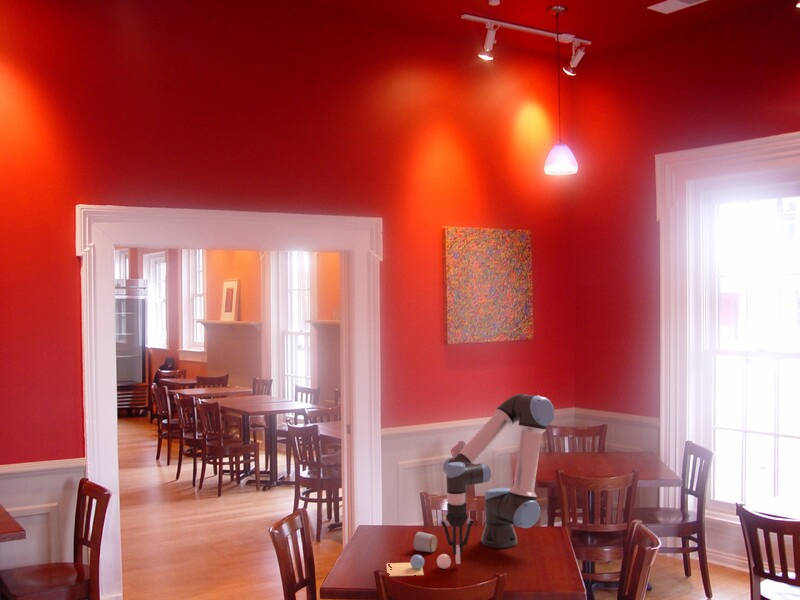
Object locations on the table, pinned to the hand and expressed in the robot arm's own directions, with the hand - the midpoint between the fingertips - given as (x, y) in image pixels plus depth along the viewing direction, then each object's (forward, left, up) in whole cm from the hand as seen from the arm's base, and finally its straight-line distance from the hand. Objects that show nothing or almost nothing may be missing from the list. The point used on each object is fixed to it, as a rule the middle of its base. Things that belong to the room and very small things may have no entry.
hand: (458, 562), depth 306 cm
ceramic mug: (+11, -22, -2) cm, 25 cm away
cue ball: (+6, 0, +1) cm, 6 cm away
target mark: (+21, 0, -2) cm, 21 cm away
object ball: (+16, 0, +1) cm, 16 cm away
